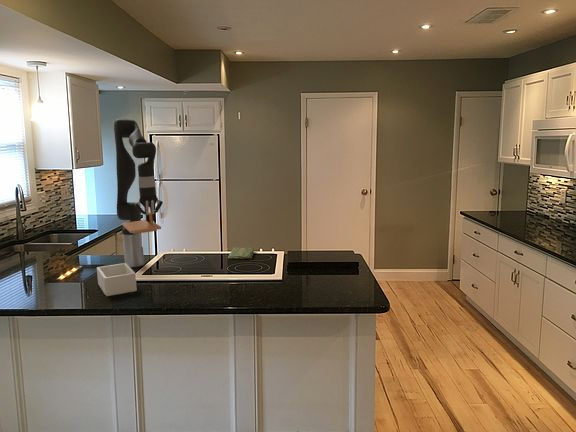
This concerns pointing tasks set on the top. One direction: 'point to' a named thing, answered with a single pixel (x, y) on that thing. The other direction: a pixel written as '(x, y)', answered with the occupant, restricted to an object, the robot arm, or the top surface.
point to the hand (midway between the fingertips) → (150, 222)
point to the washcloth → (241, 253)
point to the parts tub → (116, 279)
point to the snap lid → (141, 226)
